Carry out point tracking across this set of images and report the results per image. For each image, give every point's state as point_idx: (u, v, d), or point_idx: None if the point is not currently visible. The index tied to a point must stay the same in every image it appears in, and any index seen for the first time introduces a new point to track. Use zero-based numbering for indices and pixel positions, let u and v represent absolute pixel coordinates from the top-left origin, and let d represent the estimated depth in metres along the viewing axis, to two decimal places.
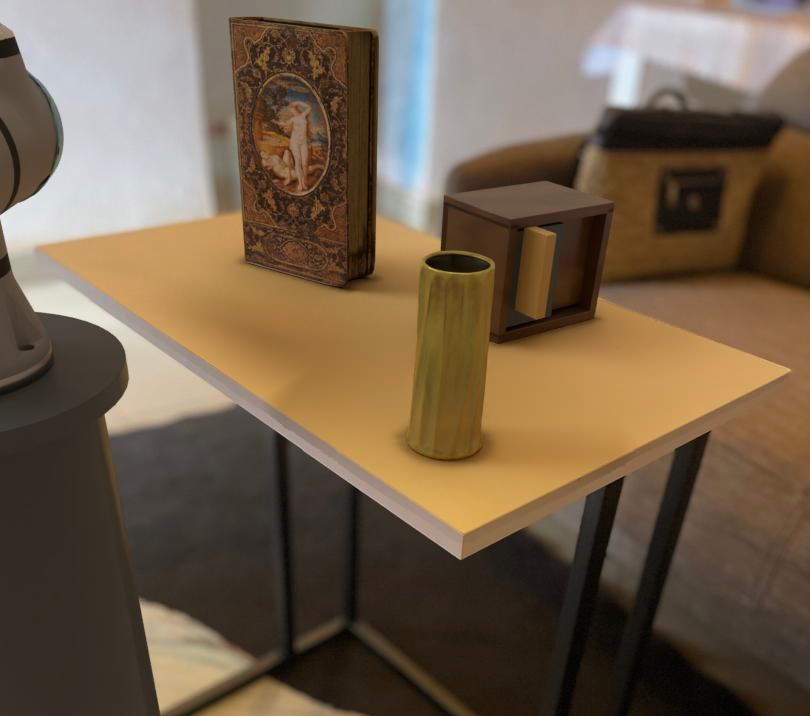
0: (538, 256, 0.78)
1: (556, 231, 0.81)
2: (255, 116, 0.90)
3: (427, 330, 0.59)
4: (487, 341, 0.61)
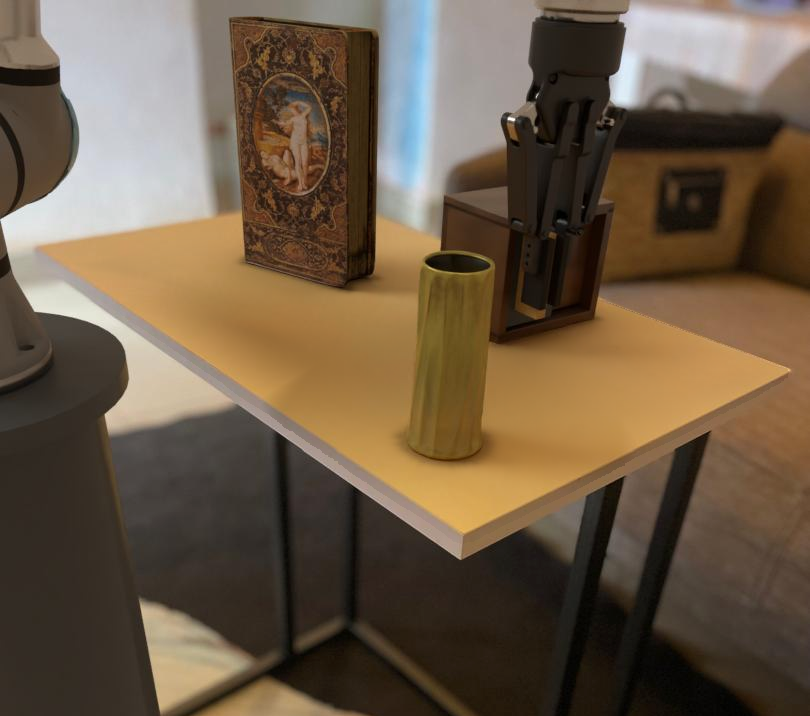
0: None
1: None
2: (255, 115, 0.90)
3: (427, 330, 0.59)
4: (487, 341, 0.61)
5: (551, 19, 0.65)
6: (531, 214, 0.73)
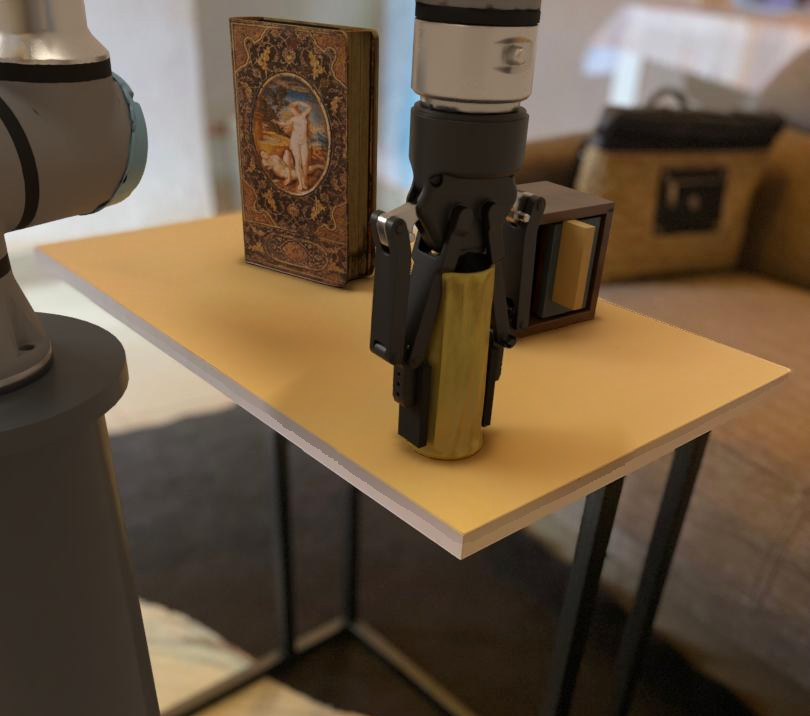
0: (577, 248, 0.81)
1: (593, 224, 0.84)
2: (255, 115, 0.90)
3: None
4: (487, 341, 0.61)
5: (430, 108, 0.51)
6: (397, 340, 0.57)
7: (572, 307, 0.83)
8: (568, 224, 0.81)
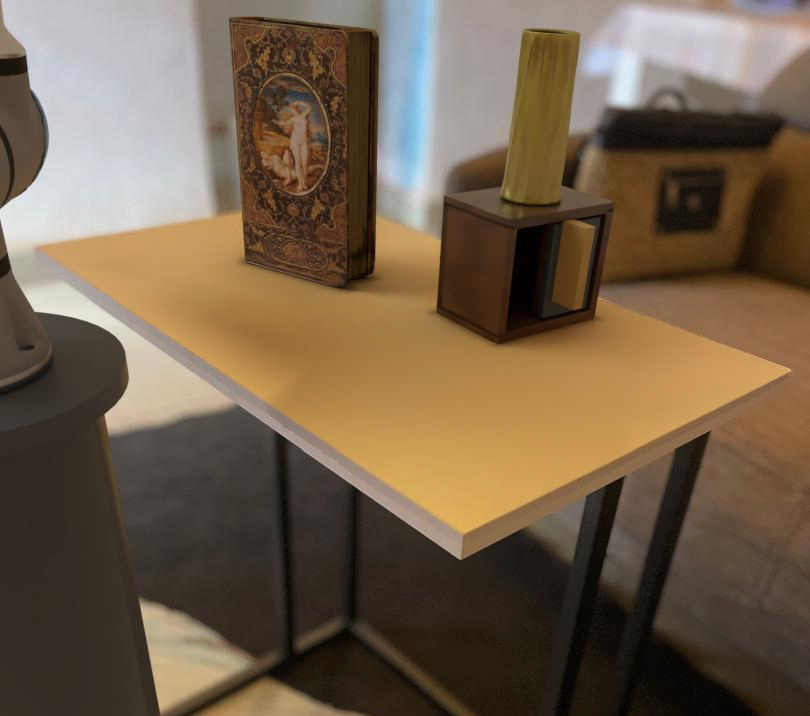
0: (577, 248, 0.81)
1: (593, 224, 0.84)
2: (255, 115, 0.90)
3: (526, 88, 0.76)
4: (571, 101, 0.77)
5: None
6: None
7: (572, 307, 0.83)
8: (568, 224, 0.81)
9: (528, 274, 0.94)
